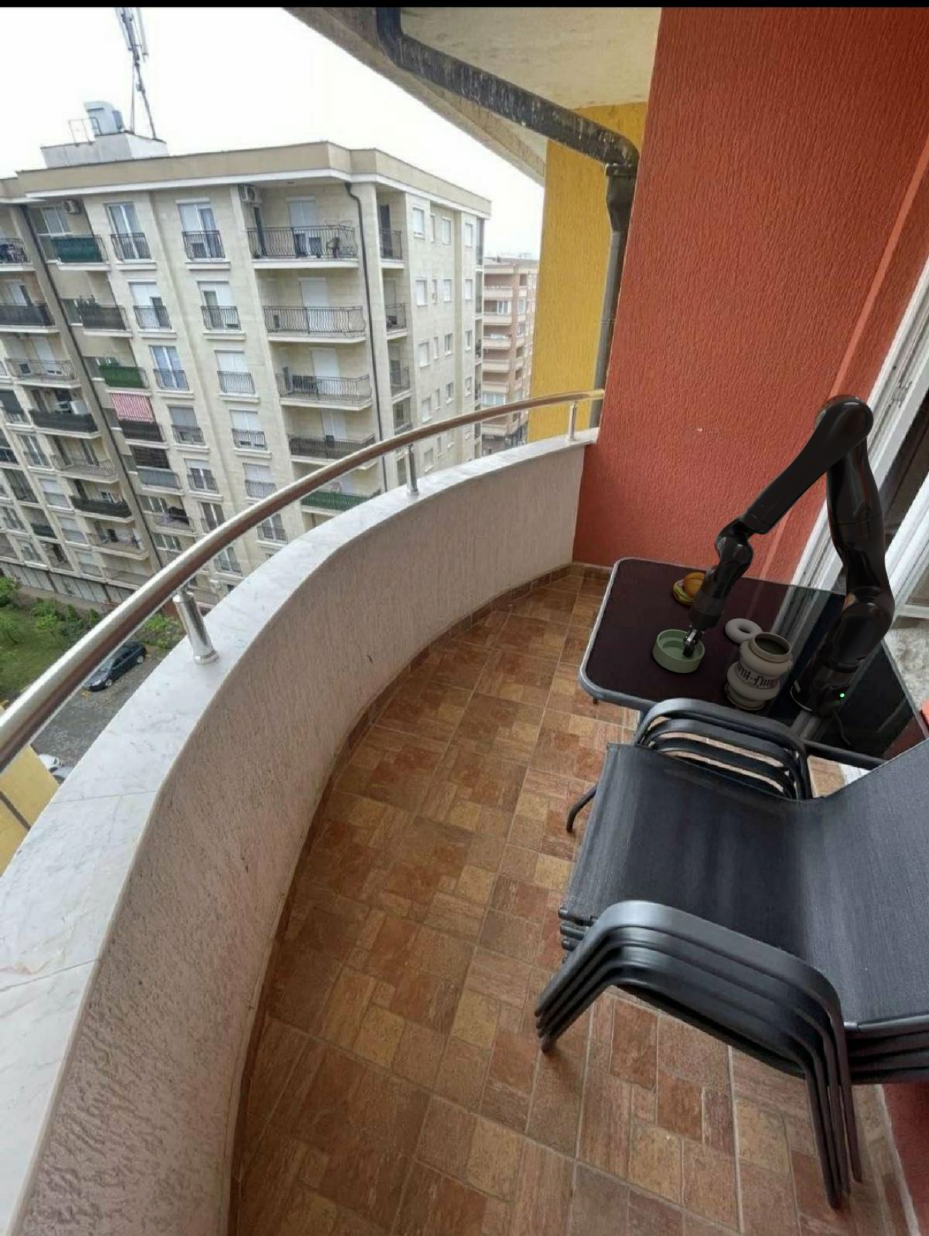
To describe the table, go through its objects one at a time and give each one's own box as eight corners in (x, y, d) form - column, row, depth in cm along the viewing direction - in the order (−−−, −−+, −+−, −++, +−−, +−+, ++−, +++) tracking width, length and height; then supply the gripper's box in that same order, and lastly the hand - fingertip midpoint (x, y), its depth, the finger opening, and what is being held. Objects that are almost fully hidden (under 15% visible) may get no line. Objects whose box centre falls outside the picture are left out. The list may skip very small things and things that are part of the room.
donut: (726, 645, 153) (764, 650, 152) (730, 636, 151) (768, 641, 150) (720, 622, 161) (756, 627, 159) (724, 613, 159) (761, 618, 157)
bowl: (705, 657, 149) (711, 644, 146) (687, 681, 142) (693, 667, 138) (664, 636, 155) (669, 623, 152) (644, 658, 148) (649, 645, 144)
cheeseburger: (688, 583, 175) (704, 562, 167) (708, 609, 169) (726, 588, 161) (663, 590, 171) (678, 568, 163) (683, 616, 166) (699, 595, 158)
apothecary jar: (711, 678, 143) (736, 626, 131) (755, 677, 144) (784, 625, 132) (732, 714, 134) (761, 662, 122) (779, 713, 135) (812, 661, 123)
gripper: (713, 624, 130) (690, 675, 141) (733, 599, 138) (709, 649, 149) (683, 610, 134) (663, 660, 145) (704, 587, 141) (683, 636, 153)
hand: (686, 655), depth 147 cm, fingers closed
